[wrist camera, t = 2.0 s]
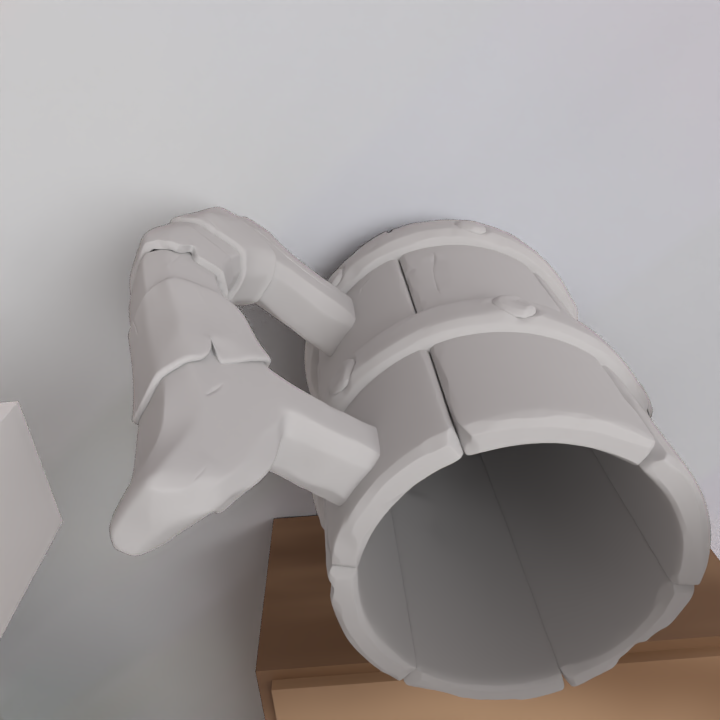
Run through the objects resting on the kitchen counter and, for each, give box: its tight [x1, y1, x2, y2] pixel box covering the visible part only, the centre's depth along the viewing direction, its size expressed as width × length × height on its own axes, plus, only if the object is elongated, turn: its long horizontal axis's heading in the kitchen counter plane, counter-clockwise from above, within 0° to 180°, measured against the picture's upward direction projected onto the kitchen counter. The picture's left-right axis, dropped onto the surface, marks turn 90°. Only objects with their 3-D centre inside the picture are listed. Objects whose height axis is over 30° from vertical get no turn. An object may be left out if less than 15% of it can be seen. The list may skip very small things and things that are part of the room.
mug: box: [109, 207, 711, 700], centre depth 13 cm, size 8×12×12 cm, turn 57°
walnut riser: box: [255, 516, 720, 720], centre depth 22 cm, size 14×14×6 cm
